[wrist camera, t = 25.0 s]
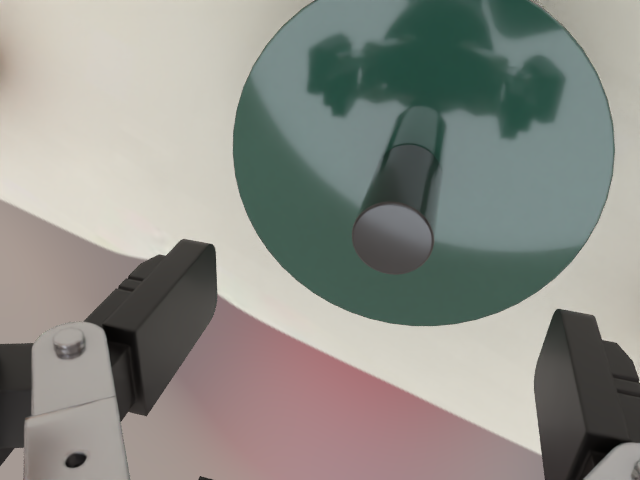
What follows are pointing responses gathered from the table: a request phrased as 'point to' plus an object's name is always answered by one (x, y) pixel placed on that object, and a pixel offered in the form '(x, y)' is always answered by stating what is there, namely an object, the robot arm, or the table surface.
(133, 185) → the table surface
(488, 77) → the lid
